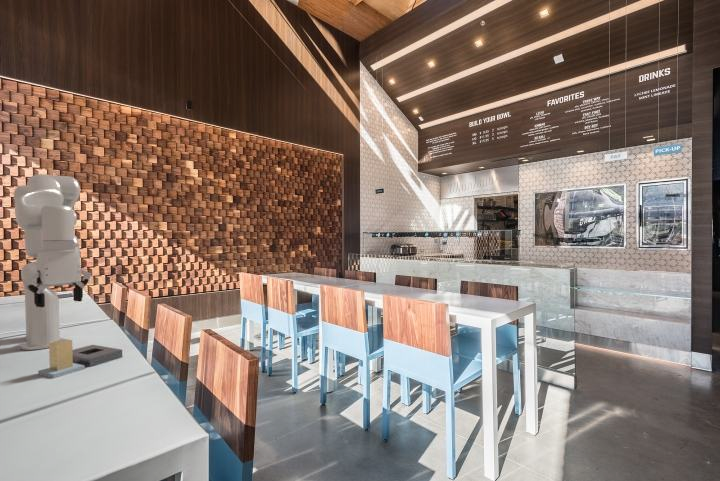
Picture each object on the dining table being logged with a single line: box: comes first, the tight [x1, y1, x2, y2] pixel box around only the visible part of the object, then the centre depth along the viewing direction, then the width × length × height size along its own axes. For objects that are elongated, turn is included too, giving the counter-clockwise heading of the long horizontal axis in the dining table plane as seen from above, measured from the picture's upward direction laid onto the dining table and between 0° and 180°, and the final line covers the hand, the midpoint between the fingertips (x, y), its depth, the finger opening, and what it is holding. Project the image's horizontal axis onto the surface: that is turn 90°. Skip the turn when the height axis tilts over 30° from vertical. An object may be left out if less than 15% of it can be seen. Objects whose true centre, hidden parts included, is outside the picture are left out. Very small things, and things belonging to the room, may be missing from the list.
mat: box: [37, 363, 85, 379], centre depth 110 cm, size 8×8×1 cm
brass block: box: [48, 338, 73, 371], centre depth 110 cm, size 4×4×8 cm
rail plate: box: [72, 344, 123, 368], centre depth 121 cm, size 16×10×2 cm, turn 66°
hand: (59, 303), depth 110 cm, fingers open, 9 cm apart
